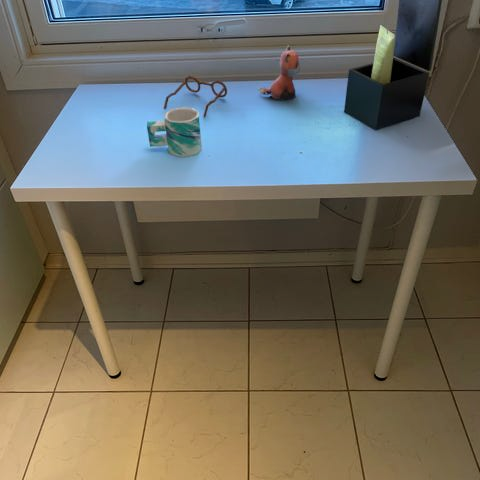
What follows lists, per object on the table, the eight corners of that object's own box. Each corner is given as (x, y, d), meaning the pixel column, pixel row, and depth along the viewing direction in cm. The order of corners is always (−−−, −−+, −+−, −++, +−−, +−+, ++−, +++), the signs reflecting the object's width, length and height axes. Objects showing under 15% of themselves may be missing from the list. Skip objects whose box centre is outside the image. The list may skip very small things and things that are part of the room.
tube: (391, 111, 134) (403, 27, 120) (383, 119, 131) (394, 34, 117) (370, 107, 136) (380, 24, 123) (362, 114, 134) (371, 31, 120)
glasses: (228, 99, 144) (227, 80, 141) (204, 118, 136) (203, 99, 133) (187, 91, 149) (185, 73, 145) (162, 109, 141) (160, 90, 137)
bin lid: (439, 0, 114) (456, -7, 116) (400, -13, 122) (416, -18, 123) (428, 71, 126) (444, 64, 127) (393, 56, 133) (408, 50, 135)
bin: (375, 130, 129) (382, 86, 121) (343, 112, 137) (348, 69, 129) (419, 116, 134) (429, 72, 126) (386, 99, 142) (394, 57, 134)
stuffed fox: (257, 91, 148) (256, 45, 139) (296, 89, 148) (298, 43, 139) (259, 102, 142) (259, 55, 134) (300, 100, 143) (302, 53, 134)
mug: (201, 156, 122) (198, 121, 116) (150, 159, 122) (144, 124, 116) (201, 139, 128) (198, 105, 122) (152, 142, 127) (146, 108, 121)
